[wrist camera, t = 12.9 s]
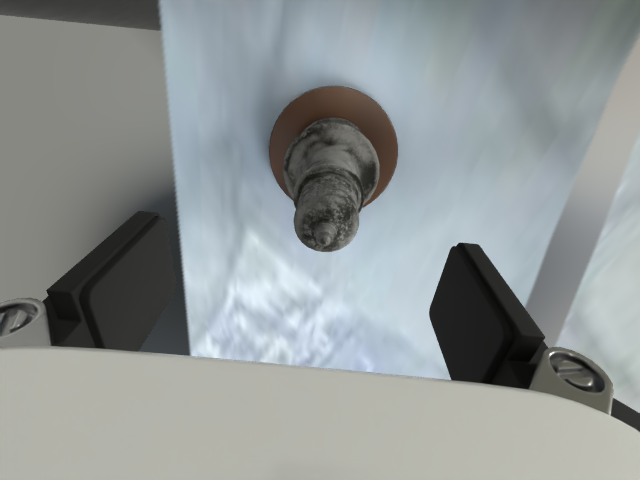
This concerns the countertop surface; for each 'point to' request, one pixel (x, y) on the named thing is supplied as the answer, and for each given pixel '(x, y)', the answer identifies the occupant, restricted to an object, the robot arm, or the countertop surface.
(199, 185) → the countertop surface
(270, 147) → the coaster
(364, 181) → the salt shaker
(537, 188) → the countertop surface
